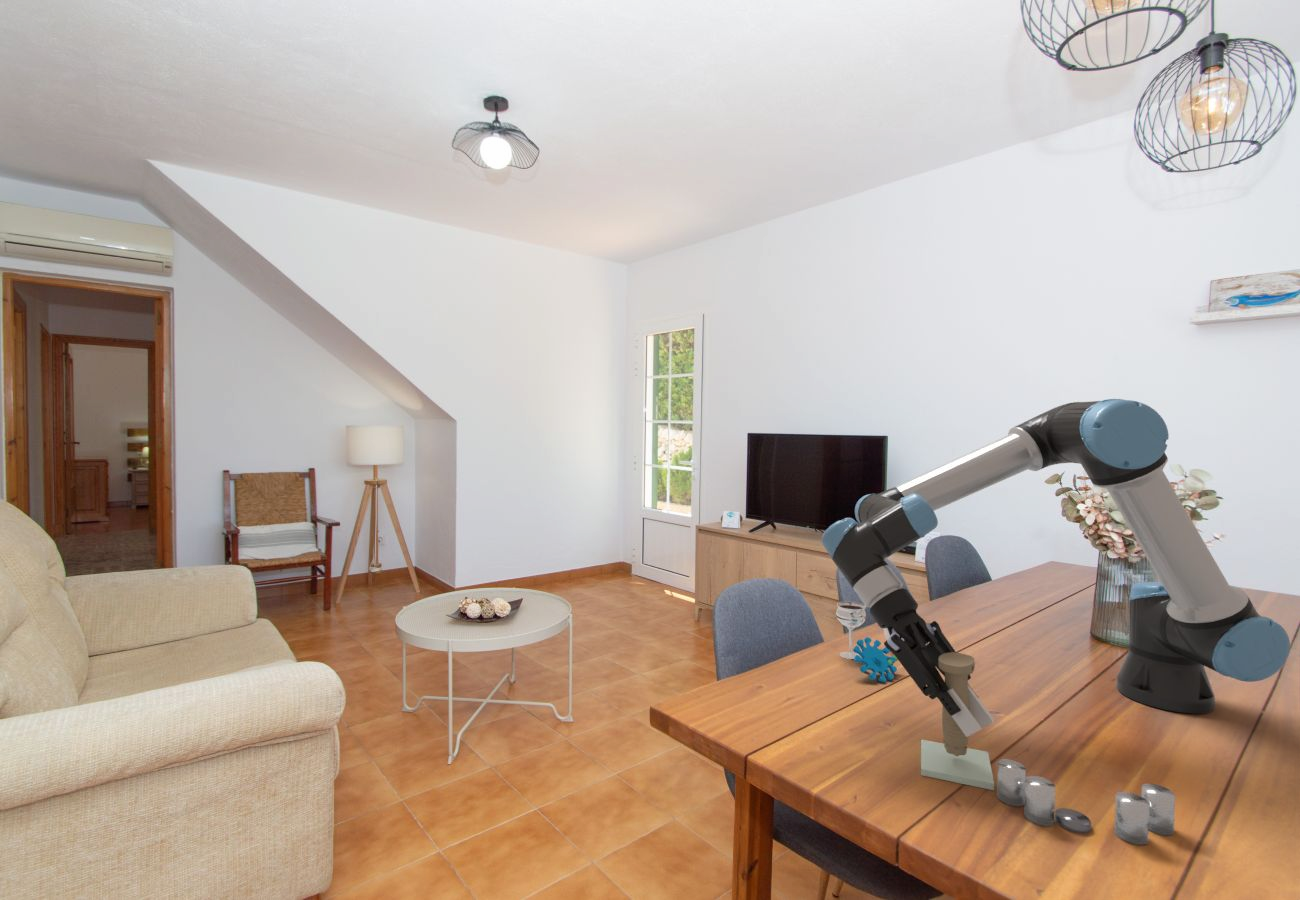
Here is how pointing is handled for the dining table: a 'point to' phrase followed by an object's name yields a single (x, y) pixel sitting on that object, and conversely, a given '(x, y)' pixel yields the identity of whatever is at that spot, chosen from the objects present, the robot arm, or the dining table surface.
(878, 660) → the gear
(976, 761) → the pad
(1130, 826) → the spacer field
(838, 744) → the dining table surface
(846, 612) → the wineglass
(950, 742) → the handle
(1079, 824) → the disc
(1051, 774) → the dining table surface
